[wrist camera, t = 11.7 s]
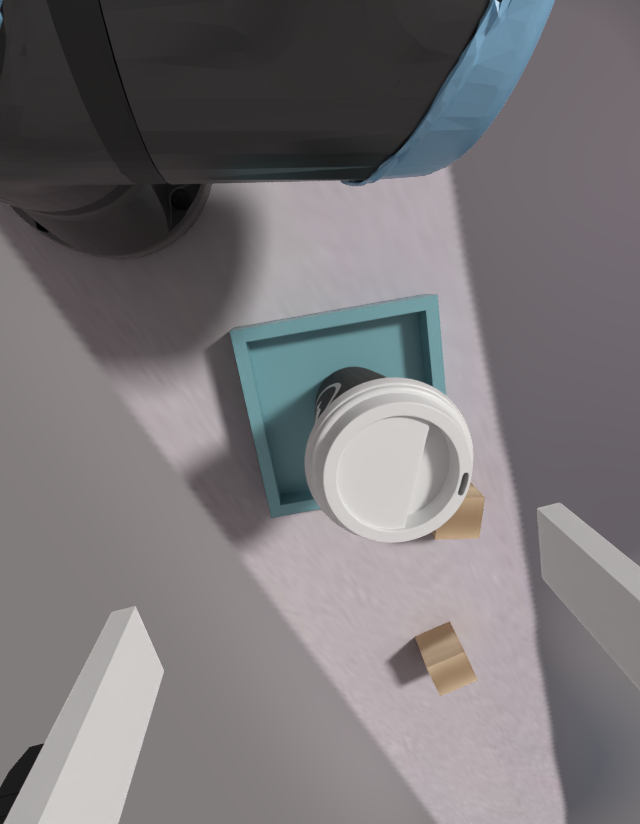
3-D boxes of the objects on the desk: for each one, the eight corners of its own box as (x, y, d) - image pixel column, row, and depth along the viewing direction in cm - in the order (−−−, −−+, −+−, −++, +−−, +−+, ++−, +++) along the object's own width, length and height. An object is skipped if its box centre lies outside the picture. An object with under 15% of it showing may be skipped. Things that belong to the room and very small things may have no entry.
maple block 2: (414, 636, 46) (426, 667, 42) (449, 621, 45) (464, 651, 42) (427, 662, 47) (440, 696, 43) (461, 648, 47) (477, 680, 43)
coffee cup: (368, 475, 39) (419, 583, 24) (275, 422, 37) (271, 507, 22) (429, 385, 37) (524, 444, 23) (336, 325, 35) (374, 348, 21)
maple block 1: (424, 478, 41) (439, 498, 37) (465, 477, 41) (484, 497, 37) (421, 516, 42) (435, 539, 38) (461, 515, 42) (479, 538, 38)
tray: (233, 327, 35) (229, 331, 32) (425, 294, 36) (437, 294, 33) (272, 501, 40) (271, 517, 37) (441, 469, 40) (453, 483, 37)
